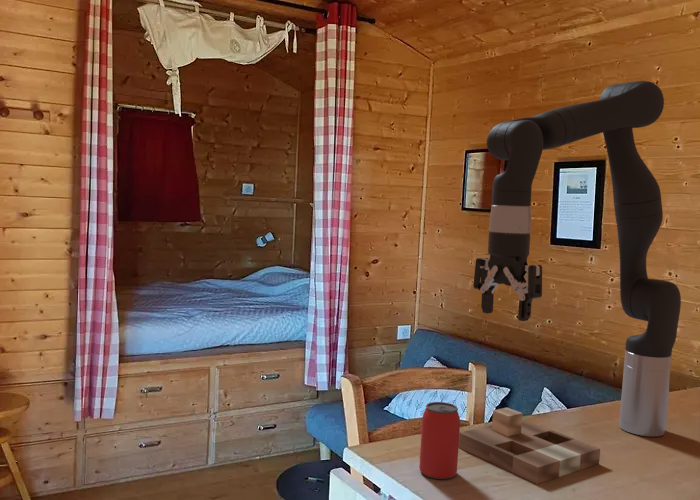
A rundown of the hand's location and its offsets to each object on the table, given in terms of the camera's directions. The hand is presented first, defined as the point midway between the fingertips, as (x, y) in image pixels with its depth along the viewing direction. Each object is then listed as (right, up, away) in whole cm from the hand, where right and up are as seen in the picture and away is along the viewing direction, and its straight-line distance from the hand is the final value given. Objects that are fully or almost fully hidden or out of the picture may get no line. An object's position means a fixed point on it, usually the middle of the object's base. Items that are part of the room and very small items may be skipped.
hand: (504, 316), depth 125 cm
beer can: (-13, -27, -7) cm, 31 cm away
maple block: (+2, -24, +7) cm, 25 cm away
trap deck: (+5, -27, +3) cm, 28 cm away
